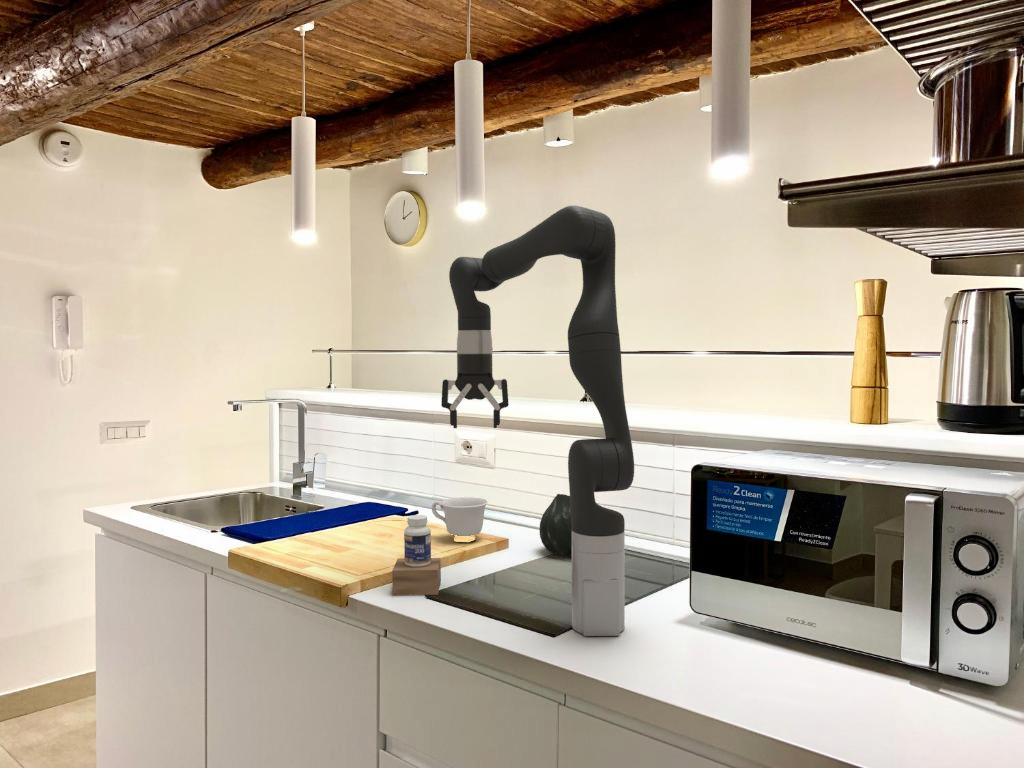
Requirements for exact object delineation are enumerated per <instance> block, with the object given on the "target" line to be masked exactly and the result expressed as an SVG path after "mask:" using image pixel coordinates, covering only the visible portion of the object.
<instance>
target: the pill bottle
mask: <svg viewBox="0 0 1024 768" xmlns="http://www.w3.org/2000/svg"><path fill="white" fill-rule="evenodd" d="M406 521H407V525H408V526H407V527H405V529H404V533H403V537H404V542H403V543H404V547H403V548H404V558H405V564H406V565H407V566H411V567H423V566H427V565H429V564H430V563H431V558H432V544H431V543H432V538H431V537H432V533H431V532H432V531H431V530H432V529H431V527H429V526H428V525H427V524H428V516H427V515H425V514H414V515H409V516H407V520H406Z"/></svg>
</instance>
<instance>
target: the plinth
mask: <svg viewBox="0 0 1024 768" xmlns="http://www.w3.org/2000/svg"><path fill="white" fill-rule="evenodd" d="M441 561H442V560H441V557H431V563H430V564H429V565H427V566H423V567H411V566H407V565H406V564H405V557H404V558H402V557H401V558H399V557H398V558H397V559H396V561H395V564H394V566H393V568H392V571H391V572H392V578H391V579H392V582H391V583H392V596H431V595H433V596H434V595H435V596H436V595H437V596H438V595H439V591H440V587H441V581H442V571H441V566H442V565H441Z"/></svg>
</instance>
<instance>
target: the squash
mask: <svg viewBox="0 0 1024 768" xmlns="http://www.w3.org/2000/svg"><path fill="white" fill-rule="evenodd" d="M548 505H549V506H547V508H546V509H545V511H544V512H543V514H542V516H541V519H540V522H539V538H540V541H541V543H542V544H543V546H544V548H545V549H546V550H547V551H548V552H549V553H551V554H554V555H559V556H562V557H566V556H567V557H569V556H572V522H571V512H570V495H567V494H565V493H561V494H560V493H556V496H554V497H553V499H552V501H551V503H550V504H548ZM567 557H566V558H567Z"/></svg>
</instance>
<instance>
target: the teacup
mask: <svg viewBox="0 0 1024 768" xmlns="http://www.w3.org/2000/svg"><path fill="white" fill-rule="evenodd" d="M488 503H489V501H488V500H487V499H484V498H480V497H474V496H473V497H471V496H470V497H468V496H467V497H466V496H465V497H452V498H446V499H443V500H442V501H441V500H435V501H434V502H433V503H432V505H431V512H432V514H433V516H434V517H435V518H437V519H439V520H441V521H443V523H444V524H445V527H446V529H447V533H450V534H449V535H451V534H453V535H457V536H471V535H476V534H478V535H479V534H480V533H481V531H482V530H483V527H484V520H485V519H484V518H485V509H486V506H487V505H488ZM437 506H439V507H440V509H441V510H442V511H443V513H444V516H443V515H441V514H440V513H439V512H438V511H437ZM476 536H477V535H476Z"/></svg>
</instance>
